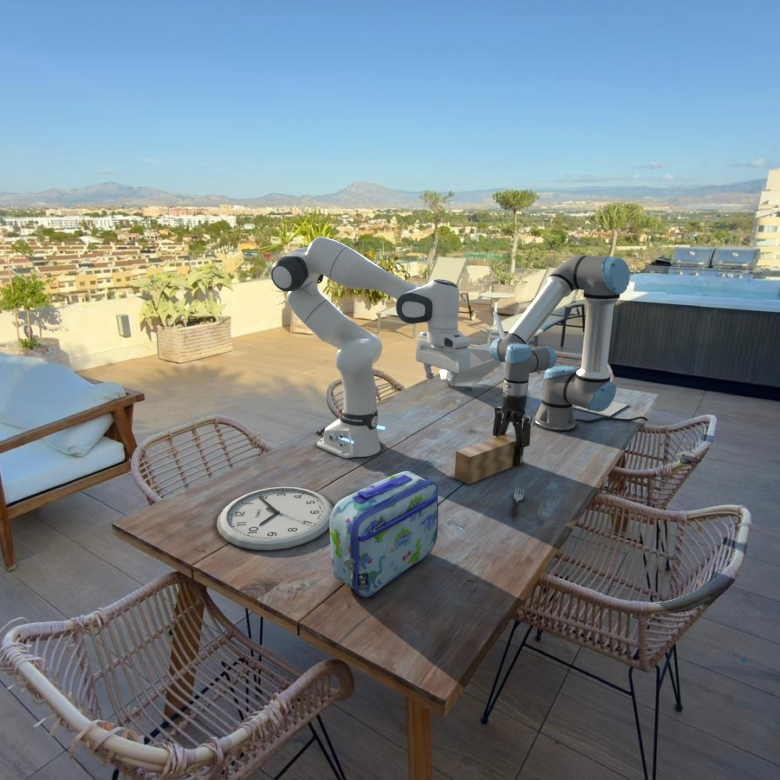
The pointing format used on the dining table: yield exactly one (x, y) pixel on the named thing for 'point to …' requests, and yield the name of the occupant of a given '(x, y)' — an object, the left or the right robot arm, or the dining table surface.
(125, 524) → the dining table surface
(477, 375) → the white plastic object
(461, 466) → the bar
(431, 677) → the dining table surface
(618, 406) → the invitation card
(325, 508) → the wall clock
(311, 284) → the left robot arm
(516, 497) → the fork
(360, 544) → the lunch box
